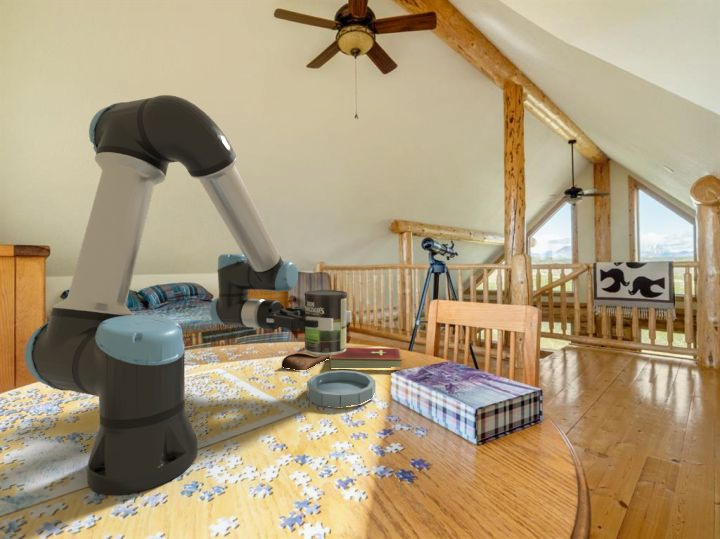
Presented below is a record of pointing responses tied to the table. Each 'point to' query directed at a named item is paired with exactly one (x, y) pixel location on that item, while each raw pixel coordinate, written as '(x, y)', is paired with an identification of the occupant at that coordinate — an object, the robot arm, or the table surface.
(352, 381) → the bowl
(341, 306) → the coffee can
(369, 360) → the hardcover book
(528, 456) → the table surface
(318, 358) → the sunglasses case
